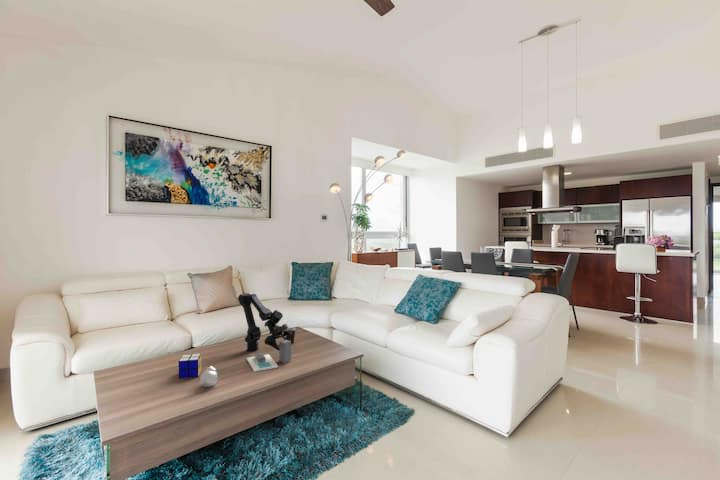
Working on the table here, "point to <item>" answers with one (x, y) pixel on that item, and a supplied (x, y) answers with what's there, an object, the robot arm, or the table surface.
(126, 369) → the table surface
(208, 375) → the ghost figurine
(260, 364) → the baseplate
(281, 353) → the pillar
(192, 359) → the puzzle cube
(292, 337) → the coffee mug
